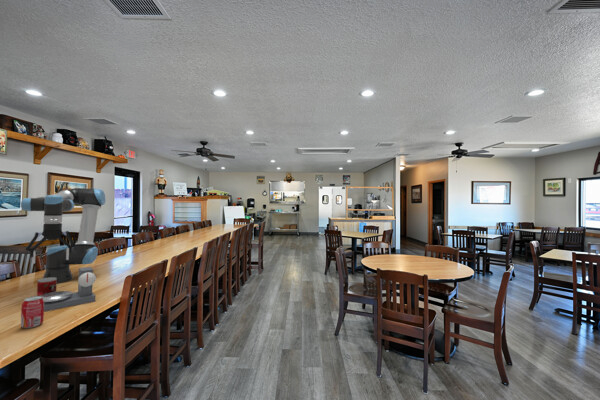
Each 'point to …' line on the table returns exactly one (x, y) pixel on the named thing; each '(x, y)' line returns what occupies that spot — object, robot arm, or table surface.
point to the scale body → (78, 297)
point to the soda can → (32, 312)
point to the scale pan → (56, 296)
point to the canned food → (46, 285)
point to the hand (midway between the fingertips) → (51, 261)
